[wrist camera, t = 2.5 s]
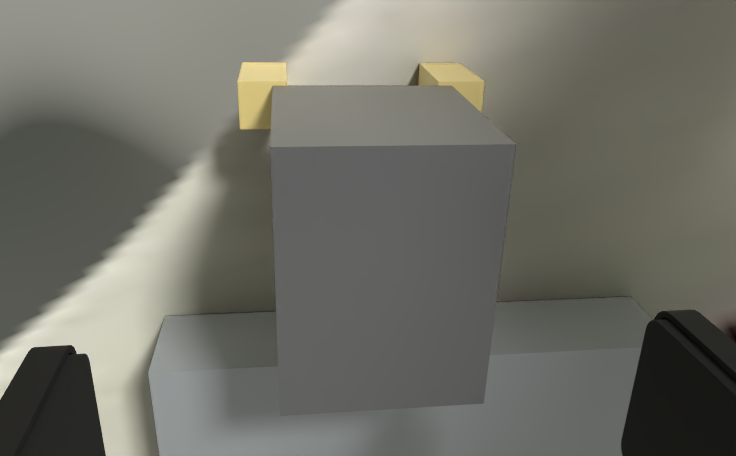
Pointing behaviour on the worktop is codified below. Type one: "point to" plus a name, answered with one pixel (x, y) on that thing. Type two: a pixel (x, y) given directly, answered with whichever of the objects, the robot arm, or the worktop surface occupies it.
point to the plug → (382, 237)
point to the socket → (409, 425)
